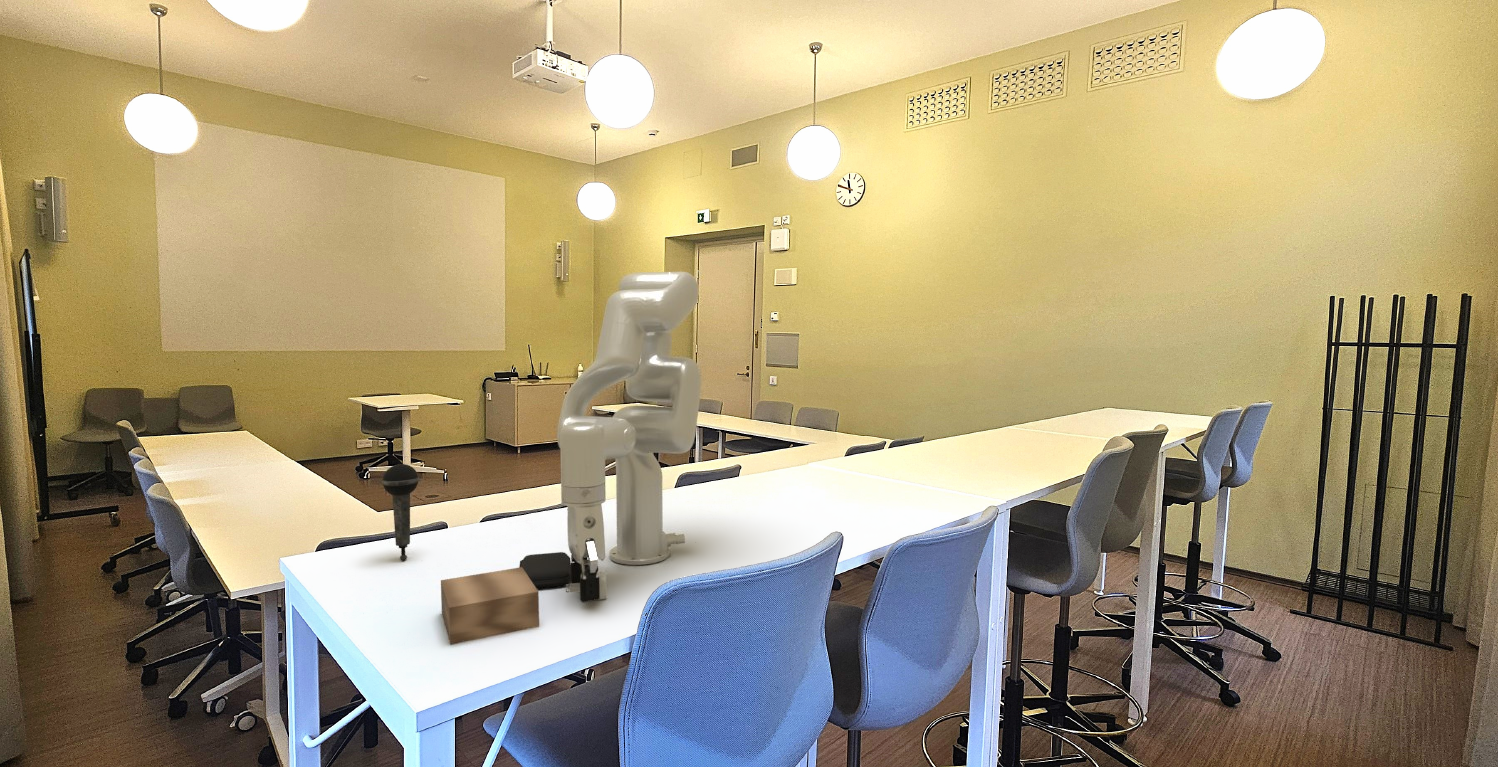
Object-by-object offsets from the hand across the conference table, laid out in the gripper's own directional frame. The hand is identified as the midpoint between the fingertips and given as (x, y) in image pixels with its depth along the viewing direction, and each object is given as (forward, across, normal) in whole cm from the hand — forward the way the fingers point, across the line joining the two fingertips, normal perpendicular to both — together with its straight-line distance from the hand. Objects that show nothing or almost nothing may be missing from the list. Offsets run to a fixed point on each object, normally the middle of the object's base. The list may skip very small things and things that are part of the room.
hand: (584, 590), depth 119 cm
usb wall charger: (+1, 0, 0) cm, 1 cm away
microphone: (+1, +35, +30) cm, 46 cm away
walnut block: (+2, -3, +16) cm, 16 cm away
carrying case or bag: (+2, +14, +5) cm, 15 cm away
